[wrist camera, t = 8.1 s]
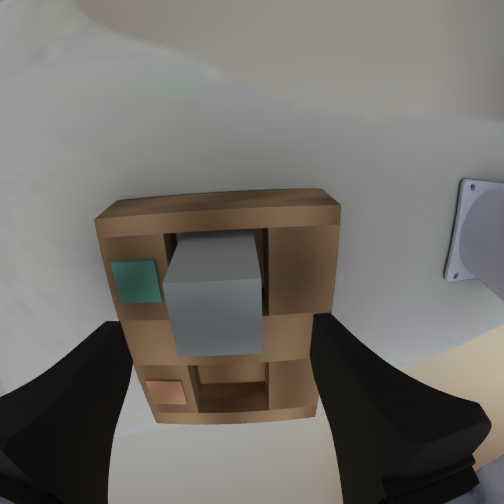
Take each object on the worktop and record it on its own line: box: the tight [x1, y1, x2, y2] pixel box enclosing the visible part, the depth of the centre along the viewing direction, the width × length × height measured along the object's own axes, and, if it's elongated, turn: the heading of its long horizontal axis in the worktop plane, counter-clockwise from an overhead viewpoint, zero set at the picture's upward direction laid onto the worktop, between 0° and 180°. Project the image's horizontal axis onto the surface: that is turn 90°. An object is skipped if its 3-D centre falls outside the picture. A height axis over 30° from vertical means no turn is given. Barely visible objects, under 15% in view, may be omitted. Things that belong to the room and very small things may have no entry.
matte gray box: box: [162, 229, 263, 357], centre depth 15 cm, size 4×4×7 cm
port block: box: [94, 189, 341, 424], centre depth 19 cm, size 12×16×4 cm
